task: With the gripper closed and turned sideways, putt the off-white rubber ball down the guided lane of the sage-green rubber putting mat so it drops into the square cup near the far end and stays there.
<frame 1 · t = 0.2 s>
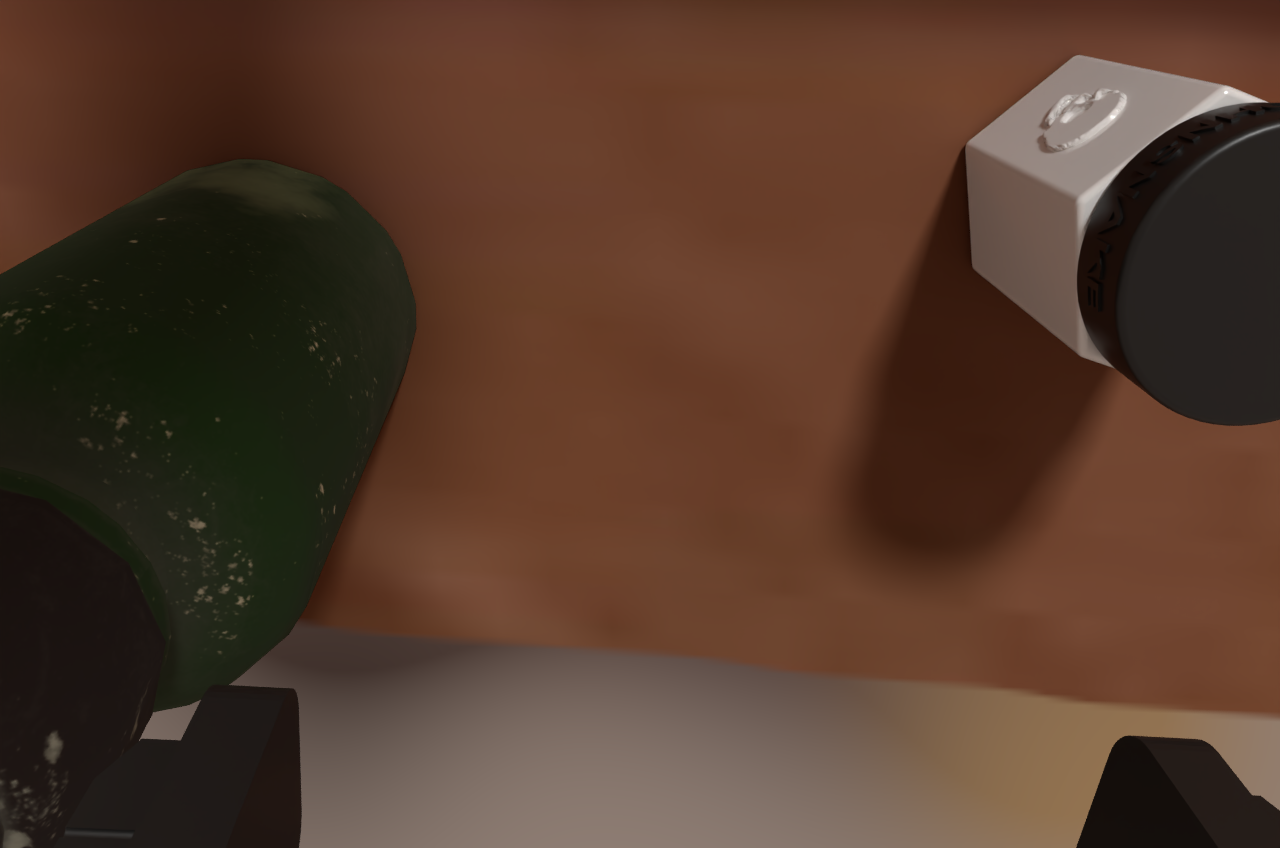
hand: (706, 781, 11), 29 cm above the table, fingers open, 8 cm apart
dark green tall piece: (271, 303, 38), on the table
jar: (1073, 184, 38), on the table
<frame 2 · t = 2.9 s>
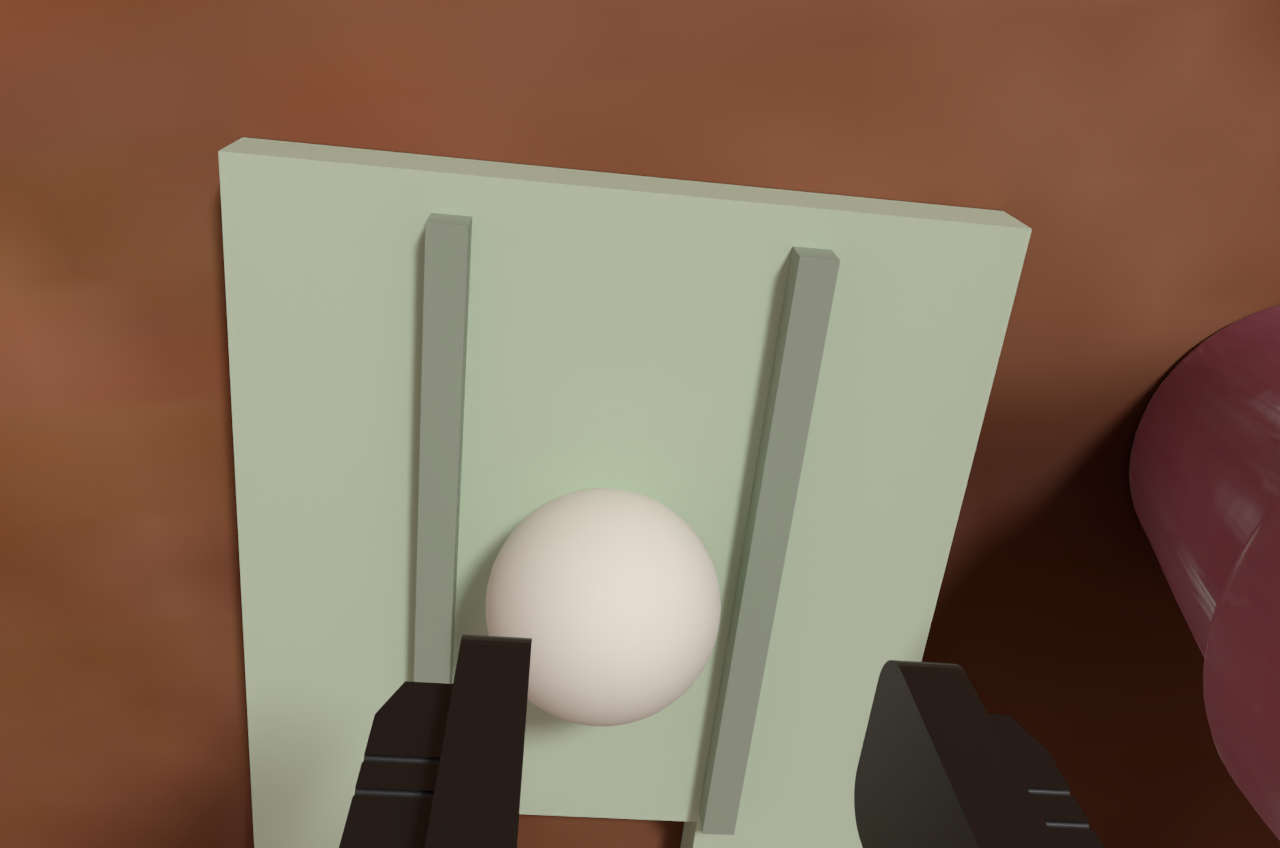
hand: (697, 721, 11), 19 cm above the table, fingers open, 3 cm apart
putting mat: (583, 675, 34), on the table
plant pot: (1271, 436, 32), on the table
ball: (603, 604, 27), point 5 cm above the table, touching putting mat
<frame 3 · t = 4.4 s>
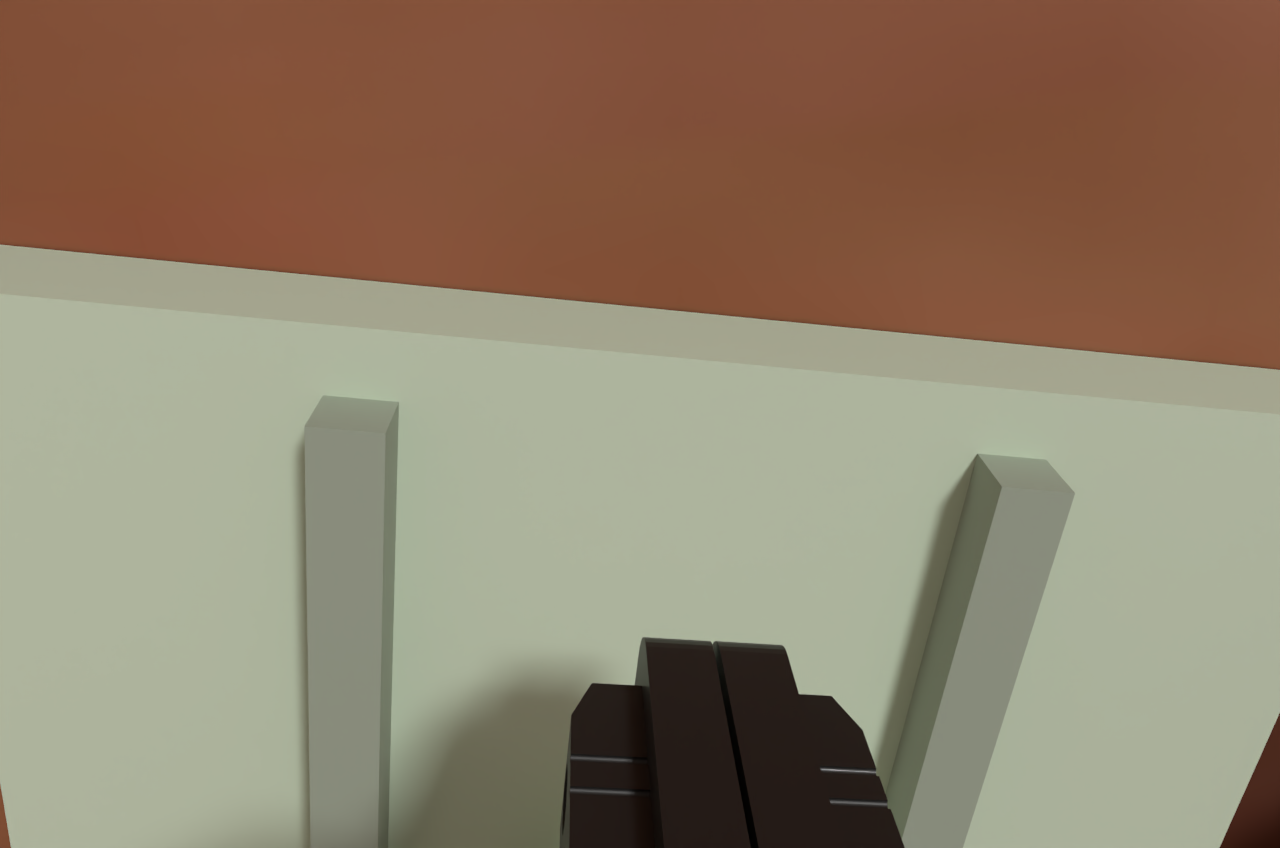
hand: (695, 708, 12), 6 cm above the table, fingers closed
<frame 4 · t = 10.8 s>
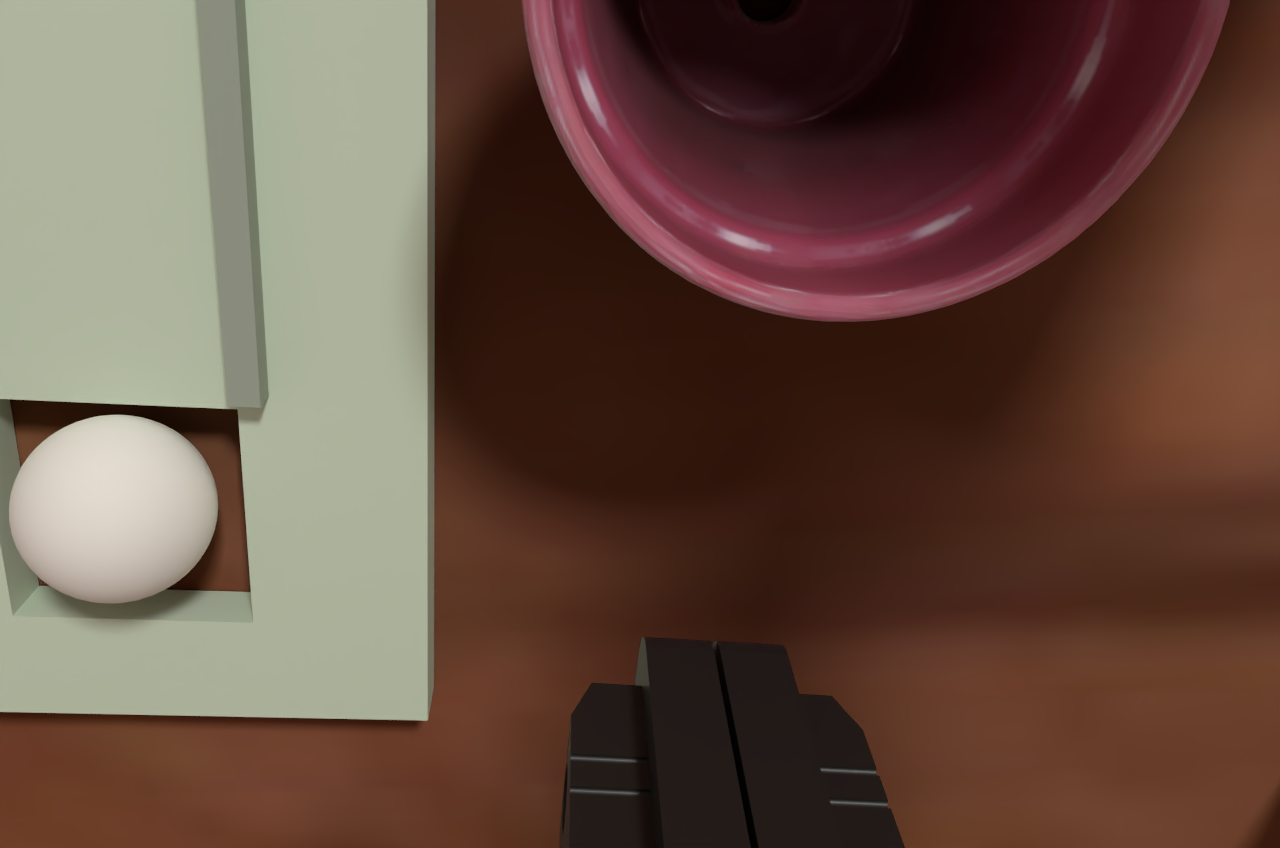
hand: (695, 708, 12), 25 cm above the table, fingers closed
putting mat: (118, 264, 34), on the table
ball: (117, 508, 34), point 3 cm above the table, tilted 129°
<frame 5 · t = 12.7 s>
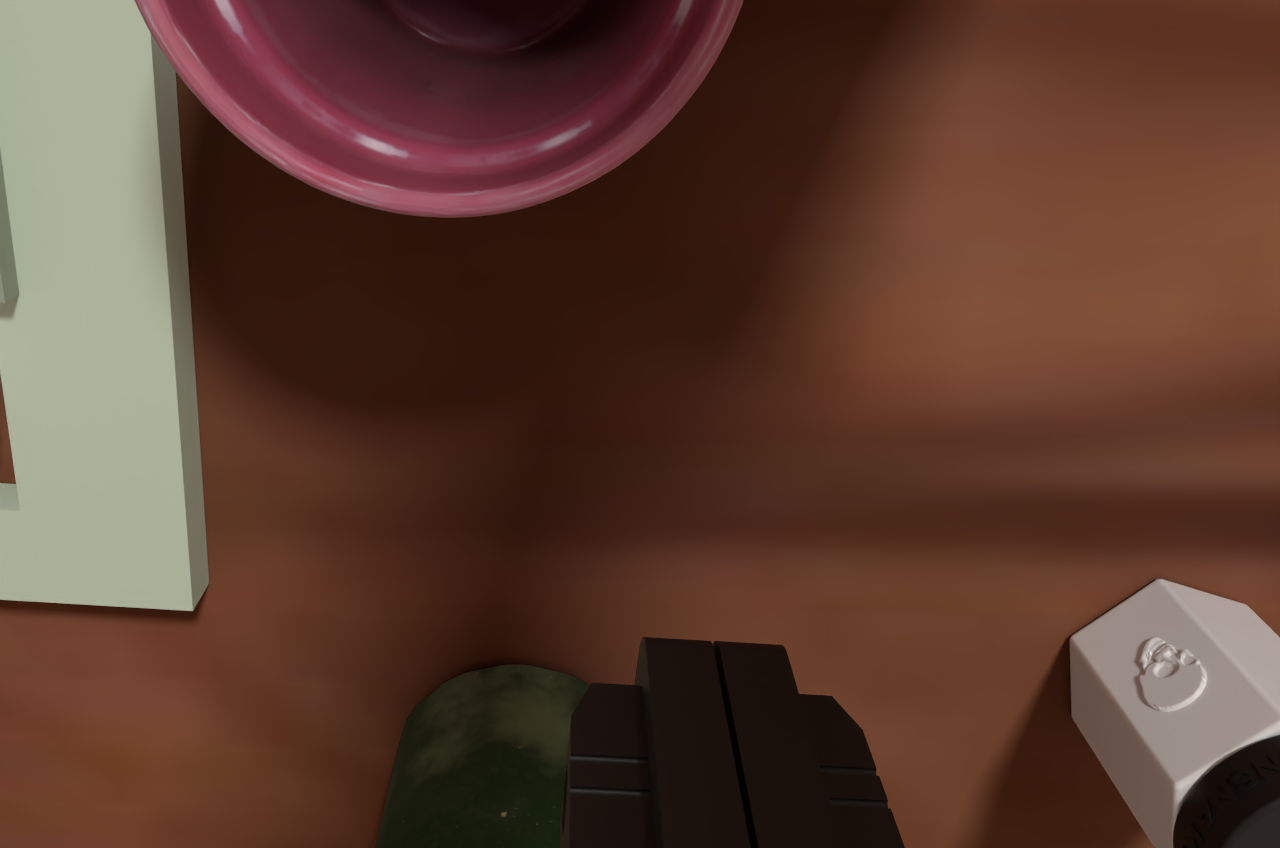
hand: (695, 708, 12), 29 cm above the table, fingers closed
dark green tall piece: (516, 749, 48), on the table
jar: (1153, 657, 48), on the table
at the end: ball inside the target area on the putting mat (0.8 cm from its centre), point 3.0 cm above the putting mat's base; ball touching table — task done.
